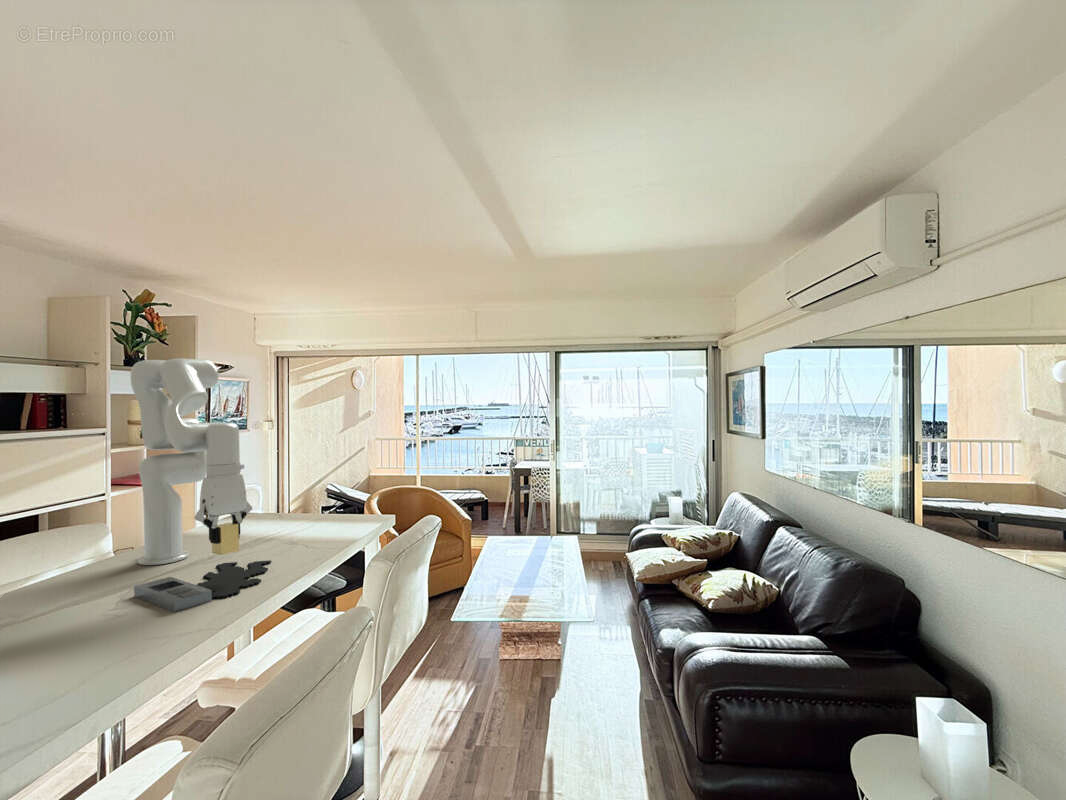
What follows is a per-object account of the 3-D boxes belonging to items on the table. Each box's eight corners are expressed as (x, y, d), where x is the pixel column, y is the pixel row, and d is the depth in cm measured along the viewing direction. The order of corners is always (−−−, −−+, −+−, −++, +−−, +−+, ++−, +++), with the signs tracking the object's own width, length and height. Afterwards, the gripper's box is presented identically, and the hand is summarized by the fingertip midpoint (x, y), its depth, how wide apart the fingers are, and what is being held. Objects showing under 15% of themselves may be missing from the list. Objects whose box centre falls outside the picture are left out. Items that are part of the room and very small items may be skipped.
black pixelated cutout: (219, 566, 156) (173, 604, 127) (219, 563, 156) (173, 600, 127) (278, 562, 159) (248, 597, 130) (278, 558, 159) (248, 593, 130)
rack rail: (134, 596, 131) (134, 585, 131) (170, 586, 138) (170, 576, 138) (175, 612, 121) (174, 600, 121) (212, 600, 127) (212, 589, 127)
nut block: (212, 552, 140) (211, 525, 140) (229, 548, 144) (228, 522, 144) (221, 554, 138) (220, 527, 138) (239, 550, 141) (238, 523, 141)
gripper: (247, 466, 150) (248, 532, 150) (181, 474, 136) (182, 546, 136) (262, 467, 146) (264, 535, 146) (196, 475, 132) (198, 550, 132)
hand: (225, 540), depth 141 cm, fingers closed on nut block, 4 cm apart
